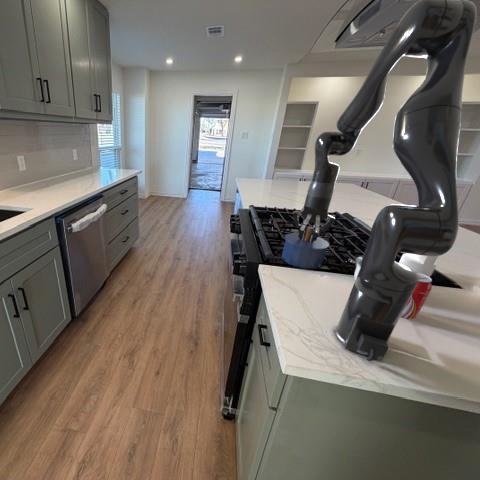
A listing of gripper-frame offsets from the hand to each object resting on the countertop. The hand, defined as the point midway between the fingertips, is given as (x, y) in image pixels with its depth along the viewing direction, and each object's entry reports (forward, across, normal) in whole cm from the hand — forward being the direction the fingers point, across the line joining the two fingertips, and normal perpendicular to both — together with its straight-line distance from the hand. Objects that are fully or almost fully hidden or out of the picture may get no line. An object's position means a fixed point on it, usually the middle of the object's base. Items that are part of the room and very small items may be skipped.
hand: (306, 239), depth 94 cm
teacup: (+9, +20, -7) cm, 23 cm away
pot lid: (+1, 0, 0) cm, 1 cm away
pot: (+9, 0, 0) cm, 9 cm away
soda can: (+9, +25, -20) cm, 33 cm away
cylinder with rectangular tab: (+9, +36, +11) cm, 39 cm away
